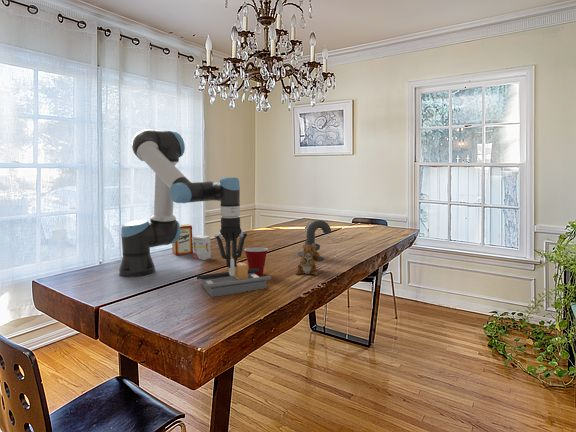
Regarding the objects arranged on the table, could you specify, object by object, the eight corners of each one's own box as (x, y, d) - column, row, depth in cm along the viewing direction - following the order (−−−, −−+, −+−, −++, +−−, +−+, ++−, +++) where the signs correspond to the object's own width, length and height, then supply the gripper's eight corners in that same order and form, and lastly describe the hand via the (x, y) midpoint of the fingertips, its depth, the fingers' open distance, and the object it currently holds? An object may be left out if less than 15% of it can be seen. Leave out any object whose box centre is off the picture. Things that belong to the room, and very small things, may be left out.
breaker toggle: (238, 279, 151) (238, 265, 150) (234, 276, 155) (234, 262, 154) (247, 278, 152) (247, 264, 152) (243, 275, 157) (243, 261, 156)
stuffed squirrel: (294, 275, 169) (294, 246, 168) (301, 267, 183) (301, 240, 181) (316, 276, 167) (316, 247, 165) (321, 268, 180) (321, 241, 179)
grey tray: (205, 289, 140) (205, 285, 140) (196, 279, 153) (196, 275, 153) (271, 280, 152) (271, 276, 152) (258, 271, 165) (258, 267, 165)
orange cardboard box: (176, 255, 207) (174, 226, 205) (172, 253, 212) (171, 225, 210) (192, 253, 212) (192, 225, 210) (189, 251, 217) (188, 223, 215)
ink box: (192, 258, 201) (192, 236, 200) (199, 256, 205) (199, 234, 204) (204, 260, 197) (203, 237, 195) (211, 258, 201) (210, 236, 199)
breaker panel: (211, 297, 141) (211, 288, 140) (201, 285, 155) (201, 277, 155) (266, 288, 150) (266, 280, 150) (252, 278, 165) (251, 271, 164)
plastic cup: (268, 270, 176) (268, 245, 175) (268, 277, 166) (268, 250, 164) (245, 271, 176) (244, 245, 175) (243, 277, 165) (242, 250, 164)
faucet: (337, 260, 197) (338, 222, 194) (309, 262, 192) (309, 223, 189) (324, 252, 214) (324, 217, 211) (297, 254, 209) (297, 218, 207)
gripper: (216, 218, 143) (218, 279, 146) (249, 216, 148) (250, 275, 151) (211, 216, 149) (213, 274, 152) (243, 214, 155) (244, 270, 158)
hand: (231, 275), depth 152 cm, fingers closed
